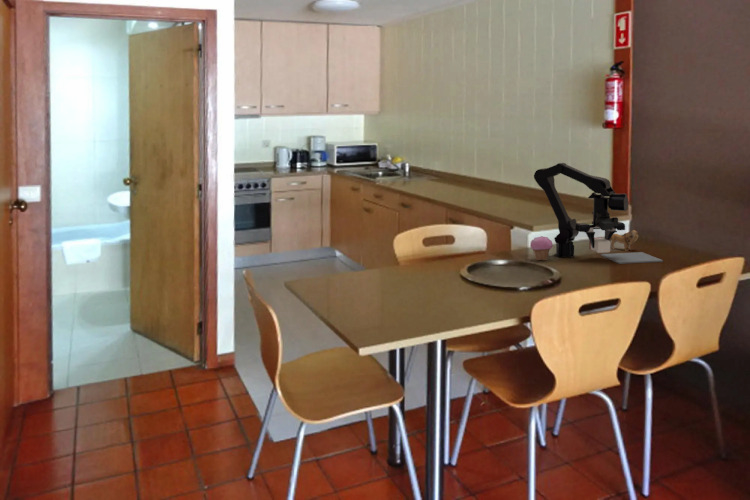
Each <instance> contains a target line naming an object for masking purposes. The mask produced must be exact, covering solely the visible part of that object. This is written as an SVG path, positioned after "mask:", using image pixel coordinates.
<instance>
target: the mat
mask: <svg viewBox="0 0 750 500" xmlns="http://www.w3.org/2000/svg"><path fill="white" fill-rule="evenodd" d="M600 256H601V257H603V258H605V259H607V260H610V261H612V262H614V263H616V264H618V265H619V264H620V265H621V264H622V265H623V264H641V263H643V264H644V263H645V264H646V263H663V262H664V260H663V259H661V258H658V257H655V256H652V255H650V254H648V253H645V252H643V251H638V252H635V251H634V252H620V253H618V252H616V253H600Z"/></svg>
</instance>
